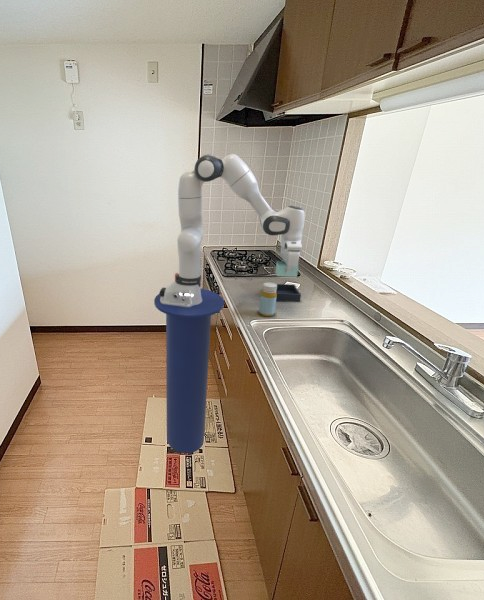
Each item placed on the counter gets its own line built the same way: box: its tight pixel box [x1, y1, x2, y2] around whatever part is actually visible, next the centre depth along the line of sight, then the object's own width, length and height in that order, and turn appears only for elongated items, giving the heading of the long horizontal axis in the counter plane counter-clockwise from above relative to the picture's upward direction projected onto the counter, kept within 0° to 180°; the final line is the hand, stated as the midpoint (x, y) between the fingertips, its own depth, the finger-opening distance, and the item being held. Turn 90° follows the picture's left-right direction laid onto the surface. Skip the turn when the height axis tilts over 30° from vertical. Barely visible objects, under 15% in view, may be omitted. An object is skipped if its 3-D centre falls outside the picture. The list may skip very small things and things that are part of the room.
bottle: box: [258, 281, 278, 318], centre depth 153 cm, size 7×7×15 cm
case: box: [274, 260, 300, 278], centre depth 156 cm, size 9×5×6 cm, turn 82°
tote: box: [276, 283, 302, 303], centre depth 176 cm, size 15×15×4 cm
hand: (286, 270), depth 157 cm, fingers closed on case, 5 cm apart
